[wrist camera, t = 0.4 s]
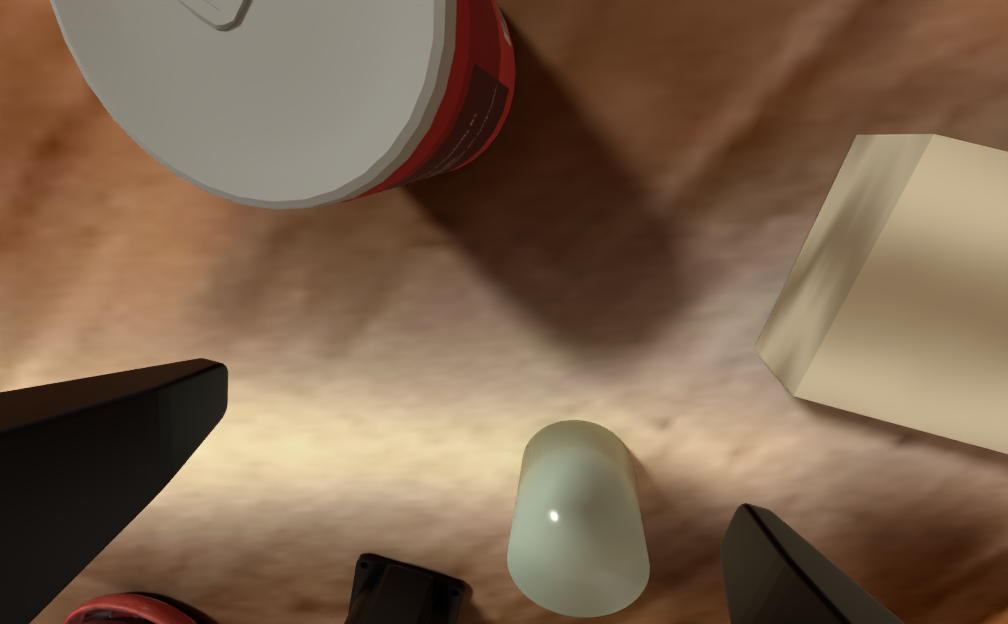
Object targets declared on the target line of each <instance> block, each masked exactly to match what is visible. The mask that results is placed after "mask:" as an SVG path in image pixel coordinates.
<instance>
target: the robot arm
mask: <svg viewBox="0 0 1008 624" xmlns="http://www.w3.org/2000/svg"><path fill="white" fill-rule="evenodd" d="M227 403H228V370H227V367H226V366H225V365H224V364H223V363H219V362H215V361H212V360H208V359H204V358H199V359H193V360H187V361H181V362H175V363H169V364H164V365H158V366H152V367H146V368H140V369H134V370H129V371H123V372H117V373H111V374H105V375H100V376H94V377H88V378H82V379H76V380H70V381H65V382H59V383H53V384H47V385H41V386H35V387H30V388H24V389H18V390H12V391H6V392H0V624H29V623H30V622H31V621H32V620H33V619H34V618H35V617H36V616H37V615H38V614H39V613H40V612H41V611H42V610H43V609H44V608H45V607H46V606H47V605H48V604H49V603H50V602H51V601H52V600H53V599H54V598H55V597H56V596H57V595H58V594H59V593H60V592H61V591H62V590H63V589H64V588H65V587H66V586H67V585H68V584H69V583H70V582H71V581H72V580H73V579H74V578H75V577H76V576H77V575H78V574H79V573H80V572H81V571H82V570H83V569H84V568H85V567H86V566H87V565H88V564H89V563H90V562H91V561H92V560H93V559H94V558H95V557H96V556H97V555H98V554H99V553H100V552H101V551H102V550H103V549H104V548H105V547H106V546H107V545H108V544H109V543H110V542H111V541H112V540H113V539H114V538H115V537H116V536H117V535H118V534H119V533H120V532H121V531H122V530H123V529H124V528H125V527H126V526H127V525H128V524H129V523H130V522H131V521H132V520H133V519H134V518H135V517H136V516H137V515H138V514H139V513H140V512H141V511H142V510H143V509H144V508H145V507H146V506H147V505H148V504H149V503H150V502H151V501H152V500H153V499H154V498H155V497H156V496H157V495H158V494H159V493H160V492H161V491H162V490H163V488H164V487H165V486H166V485H167V484H168V483H169V482H170V480H171V479H172V478H173V477H174V476H175V475H176V473H177V472H178V471H179V470H180V469H181V467H182V466H183V465H184V464H185V463H186V461H187V460H188V459H189V458H190V457H191V455H192V454H193V453H194V452H195V450H196V449H197V448H198V447H199V446H200V444H201V443H202V442H203V441H204V440H205V438H206V437H207V436H208V435H209V434H210V432H211V431H212V430H213V429H214V428H215V426H216V425H217V424H218V423H219V422H220V420H221V419H222V418H223V416H224V414H225V412H226V409H227ZM720 558H721V564H722V571H723V577H724V584H725V590H726V596H727V603H728V609H729V616H730V622H731V624H905V623H904V622H902V621H901V620H900V619H899V618H898V617H896V616H895V615H894V614H893V613H892V612H890V611H889V610H888V609H887V608H886V607H884V606H883V605H882V604H881V603H880V602H879V601H877V600H876V599H875V598H874V597H873V596H871V595H870V594H869V593H868V592H867V591H865V590H864V589H863V588H862V587H861V586H860V585H858V584H857V583H856V582H855V581H854V580H852V579H851V578H850V577H849V576H848V575H846V574H845V573H844V572H843V571H842V570H841V569H839V568H838V567H837V566H836V565H835V564H833V563H832V562H831V561H830V560H829V559H827V558H826V557H825V556H824V555H823V554H822V553H820V552H819V551H818V550H817V549H816V548H814V547H813V546H812V545H811V544H810V543H808V542H807V541H806V540H805V539H804V538H803V537H801V536H800V535H799V534H798V533H797V532H795V531H794V530H793V529H792V528H791V527H789V526H788V525H787V524H786V523H785V522H784V521H782V520H781V519H780V518H779V517H778V516H776V515H775V514H774V513H773V512H772V511H770V510H768V509H766V508H763V507H759V506H755V505H751V504H747V503H744V504H741V505H740V506H739V507H738V508H737V510H736V512H735V514H734V516H733V518H732V520H731V522H730V524H729V526H728V528H727V530H726V532H725V534H724V536H723V538H722V541H721V545H720ZM464 590H465V586H464V584H463V583H462V582H460V581H457V580H454V579H451V578H447V577H444V576H441V575H437V574H434V573H431V572H427V571H424V570H421V569H417V568H414V567H411V566H407V565H404V564H401V563H397V562H394V561H391V560H387V559H384V558H380V557H377V556H374V555H370V554H366V553H365V554H362V555H360V557H359V559H358V561H357V563H356V569H355V576H354V582H353V588H352V595H351V601H350V607H349V614H348V617H347V619H346V621H345V623H344V624H455V623H456V619H457V616H458V612H459V609H460V605H461V602H462V598H463V594H464Z"/></svg>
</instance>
